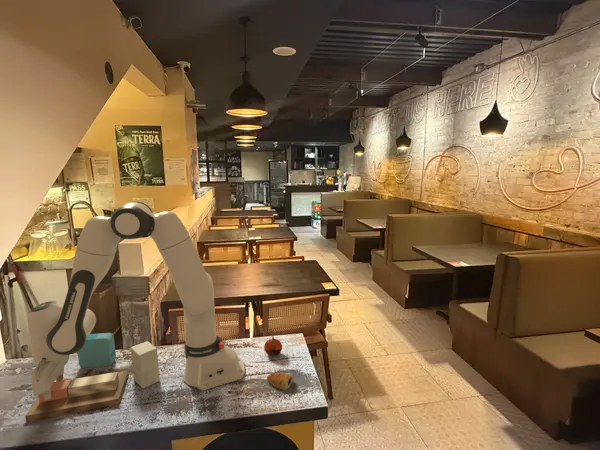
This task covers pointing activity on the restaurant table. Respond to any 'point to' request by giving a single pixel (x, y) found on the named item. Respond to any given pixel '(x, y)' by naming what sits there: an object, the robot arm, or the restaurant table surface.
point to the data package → (97, 351)
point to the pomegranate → (273, 347)
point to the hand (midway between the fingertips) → (54, 388)
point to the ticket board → (83, 396)
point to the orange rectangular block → (57, 390)
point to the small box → (145, 364)
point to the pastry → (280, 380)
